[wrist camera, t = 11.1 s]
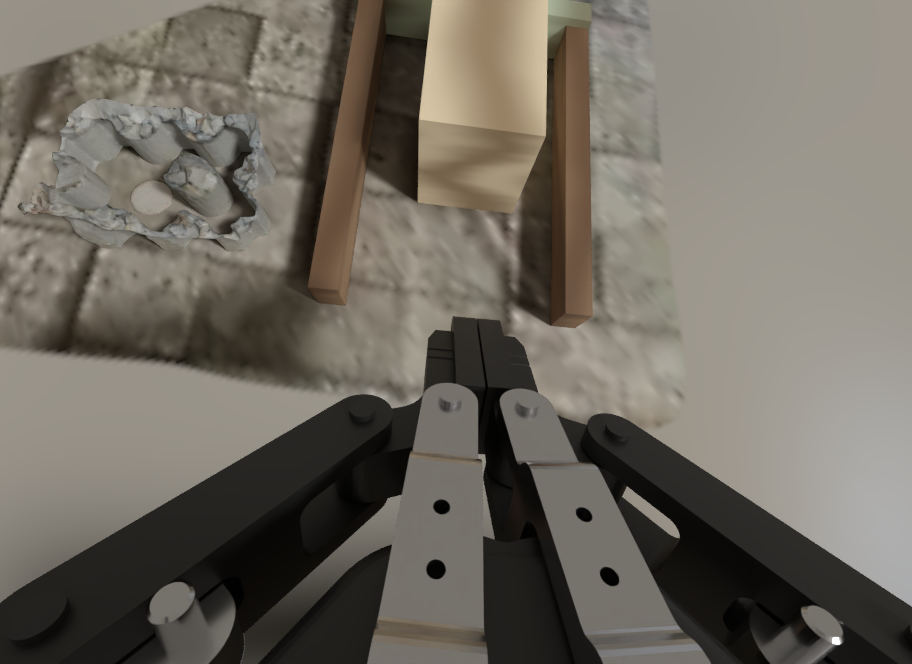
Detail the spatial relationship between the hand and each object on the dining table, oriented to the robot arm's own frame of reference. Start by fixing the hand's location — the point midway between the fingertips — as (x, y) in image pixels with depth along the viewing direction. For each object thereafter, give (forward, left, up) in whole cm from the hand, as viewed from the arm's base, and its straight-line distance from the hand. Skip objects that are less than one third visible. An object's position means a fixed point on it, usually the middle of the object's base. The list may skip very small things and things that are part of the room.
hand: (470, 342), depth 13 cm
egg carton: (-16, +10, -10) cm, 22 cm away
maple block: (0, +17, -10) cm, 20 cm away
